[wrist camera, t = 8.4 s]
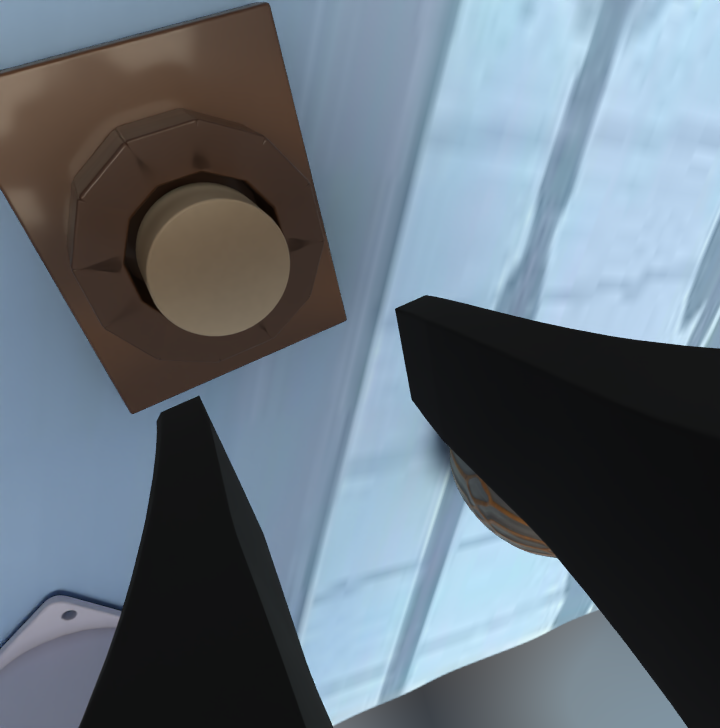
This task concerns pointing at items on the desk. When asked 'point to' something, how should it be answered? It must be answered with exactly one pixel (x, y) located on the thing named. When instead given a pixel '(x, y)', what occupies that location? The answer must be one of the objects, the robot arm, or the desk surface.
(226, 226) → the button
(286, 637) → the robot arm
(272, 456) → the desk surface
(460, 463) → the vase
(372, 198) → the desk surface
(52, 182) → the control block
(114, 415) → the desk surface
